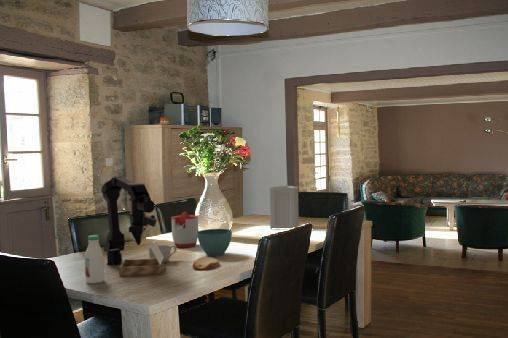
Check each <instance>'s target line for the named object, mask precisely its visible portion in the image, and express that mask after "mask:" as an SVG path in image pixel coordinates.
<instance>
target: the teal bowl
mask: <svg viewBox="0 0 508 338" xmlns="http://www.w3.org/2000/svg"><path fill="white" fill-rule="evenodd" d="M232 233H233V230H231V229H226V228H210V229H202V230H198V232H197V236H198V239H197V242H198V243H199V246H200V247H201V250H203V252H204V253H205V254H206V255H207V257H221V256H223V255H224V254H225V252H226V251H227V249H228V248H229V246H230V244H231V240H232V236H233V234H232Z"/></svg>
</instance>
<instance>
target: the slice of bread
mask: <svg viewBox="0 0 508 338" xmlns="http://www.w3.org/2000/svg"><path fill="white" fill-rule="evenodd" d="M219 262H220V261H219V260H218V259H217V258H214V257H211V256H201V257H198V258H197V259H196V260H194V261H193V263H192V266H191V267H192V269H193V270H195V271H198V272H205V271H209V270H213V269H216V268H217V267H219V265H220V263H219Z"/></svg>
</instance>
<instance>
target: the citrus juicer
mask: <svg viewBox="0 0 508 338" xmlns="http://www.w3.org/2000/svg"><path fill="white" fill-rule="evenodd" d="M170 218H171V236H172V239H173V243H174V246H176V248H186V249H187V248H189V249H190V248H192V247H195V246H197V243H198V236H197V232H198V231H199V215H196V214H195V215H194V214H188V212H187V211H183V212H182V213H181V214H180V215H173V216H171V217H170Z"/></svg>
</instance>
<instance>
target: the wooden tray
mask: <svg viewBox="0 0 508 338" xmlns="http://www.w3.org/2000/svg"><path fill="white" fill-rule="evenodd" d="M163 268H164V262H163V260H162V262H161V265H160V264H159V262H158V261H157V259H150V258H137V259H136V258H134V259H133V258H132V259H131V258H130V259H123V261H122V262H121V264H120V265H119V268H118V271H119V277H129V276H130V277H132V276H134V277H135V276H136V277H137V276H157V275H158V276H159V275H161V273H162V271H163Z"/></svg>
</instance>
